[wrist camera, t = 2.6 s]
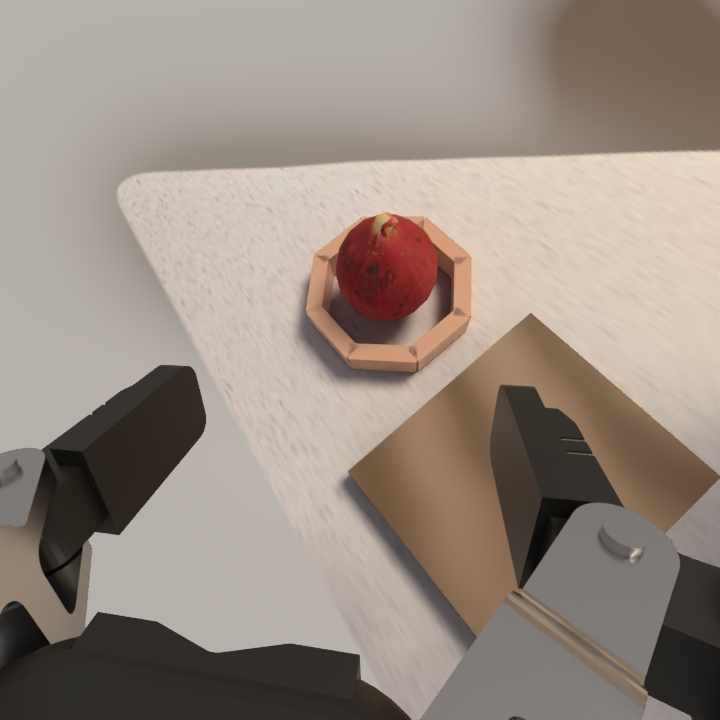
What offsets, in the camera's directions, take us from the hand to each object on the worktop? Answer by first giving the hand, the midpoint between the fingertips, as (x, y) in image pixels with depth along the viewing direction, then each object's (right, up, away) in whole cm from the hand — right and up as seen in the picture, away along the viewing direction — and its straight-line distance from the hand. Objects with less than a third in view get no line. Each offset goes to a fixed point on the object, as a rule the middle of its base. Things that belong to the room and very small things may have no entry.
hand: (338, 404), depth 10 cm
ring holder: (+3, +5, +16) cm, 17 cm away
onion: (+3, +5, +16) cm, 17 cm away
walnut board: (+9, -5, +11) cm, 15 cm away
